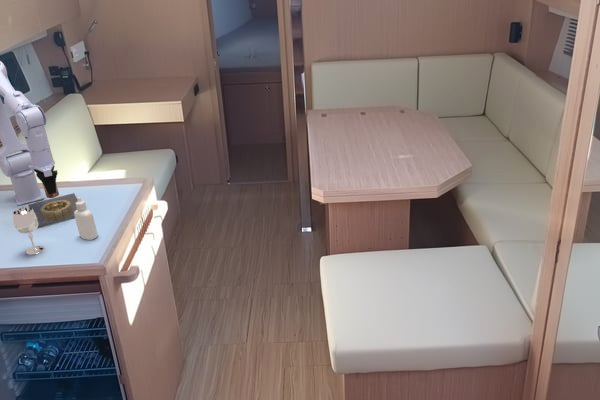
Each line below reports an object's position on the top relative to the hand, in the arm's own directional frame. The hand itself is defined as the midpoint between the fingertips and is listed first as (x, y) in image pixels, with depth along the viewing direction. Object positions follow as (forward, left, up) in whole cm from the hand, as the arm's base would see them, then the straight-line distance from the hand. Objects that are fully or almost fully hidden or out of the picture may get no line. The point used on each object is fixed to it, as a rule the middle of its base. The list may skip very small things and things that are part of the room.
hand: (51, 191), depth 168 cm
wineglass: (+21, -9, -8) cm, 24 cm away
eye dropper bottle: (+22, +5, -8) cm, 24 cm away
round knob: (0, 0, -1) cm, 1 cm away
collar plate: (-2, 0, -7) cm, 8 cm away
